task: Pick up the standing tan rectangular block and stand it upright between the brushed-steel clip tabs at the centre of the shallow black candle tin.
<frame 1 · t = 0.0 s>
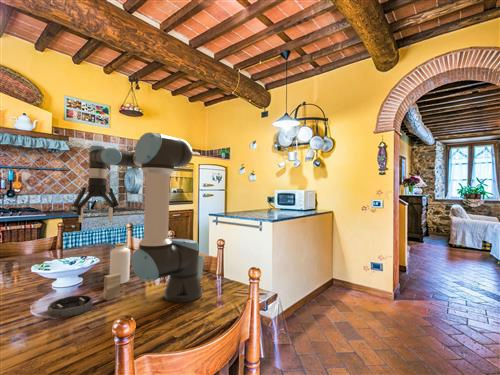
hand: (96, 221, 126), 28 cm above the table, fingers open, 13 cm apart
cup: (195, 278, 129), on the table
potion bottle: (119, 282, 122), on the table
tin: (71, 308, 93), on the table
tan rectangular block: (111, 297, 104), on the table
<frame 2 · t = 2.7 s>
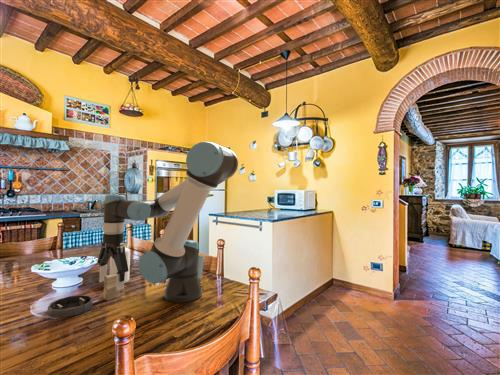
hand: (111, 285, 104), 5 cm above the table, fingers open, 13 cm apart
nothing on the table moved.
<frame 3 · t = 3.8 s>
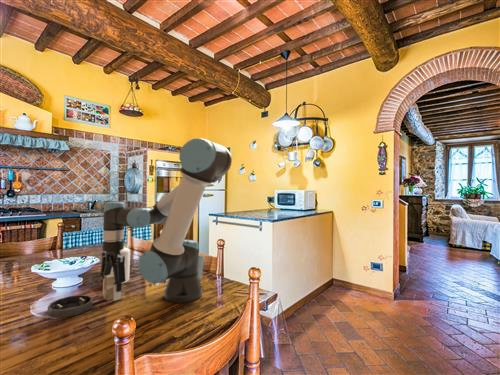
hand: (111, 296, 104), 0 cm above the table, fingers open, 8 cm apart
nothing on the table moved.
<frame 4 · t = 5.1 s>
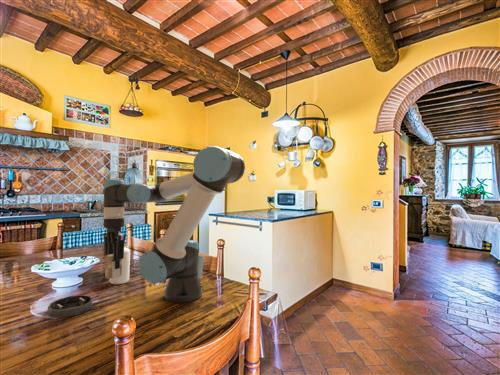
hand: (113, 275, 104), 9 cm above the table, fingers closed on tan rectangular block, 3 cm apart
tan rectangular block: (113, 276, 104), point 8 cm above the table, touching gripper
everything else where it was.
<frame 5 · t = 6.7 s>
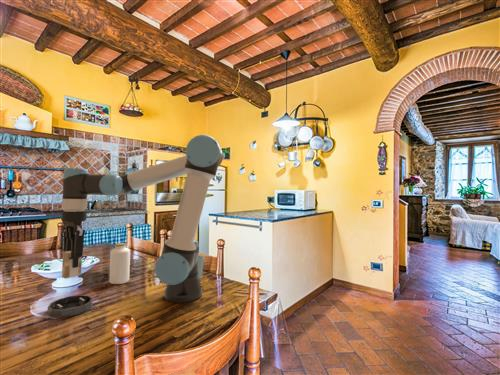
hand: (71, 275, 94), 12 cm above the table, fingers closed on tan rectangular block, 3 cm apart
tan rectangular block: (71, 276, 94), point 12 cm above the table, touching gripper
everything else where it was.
when the fingers open (2 cm above the table, at t = 8.8 s): tan rectangular block stays where it is, resting on tin.
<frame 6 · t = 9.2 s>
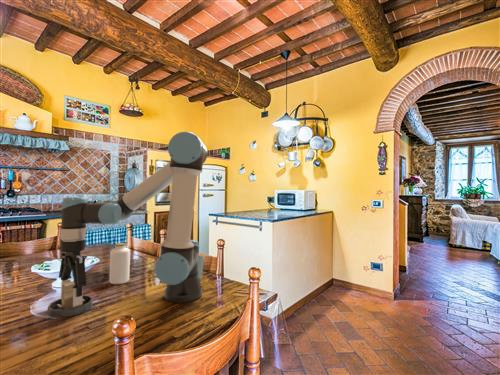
hand: (71, 301, 93), 3 cm above the table, fingers open, 10 cm apart
tan rectangular block: (71, 307, 93), resting on tin
everything else where it was.
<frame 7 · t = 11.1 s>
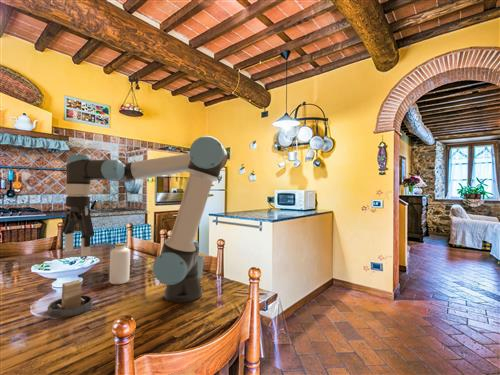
hand: (77, 253, 95), 20 cm above the table, fingers open, 13 cm apart
nothing on the table moved.
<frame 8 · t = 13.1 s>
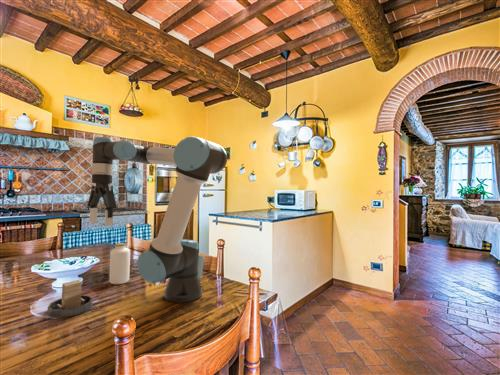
hand: (100, 224, 109), 29 cm above the table, fingers open, 13 cm apart
nothing on the table moved.
at the end: tan rectangular block 0.1 cm off-centre on the tin, point 0.4 cm above the tin's base; tan rectangular block tilted 0°; the gripper is holding nothing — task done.
